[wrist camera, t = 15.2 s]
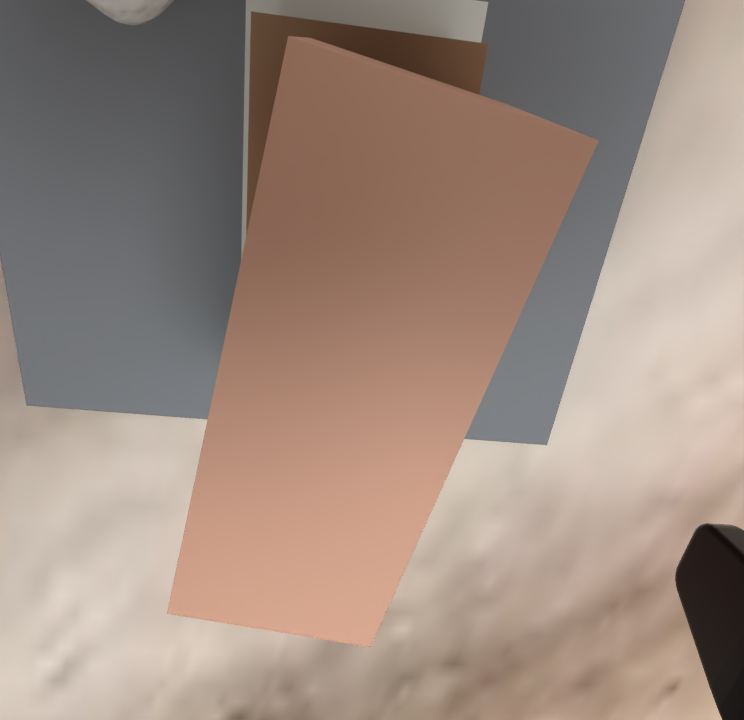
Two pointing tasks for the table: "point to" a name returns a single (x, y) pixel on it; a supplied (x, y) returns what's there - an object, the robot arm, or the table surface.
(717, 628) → the robot arm
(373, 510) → the cap block
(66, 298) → the mat
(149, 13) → the square plate
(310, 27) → the walnut cube
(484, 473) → the table surface
